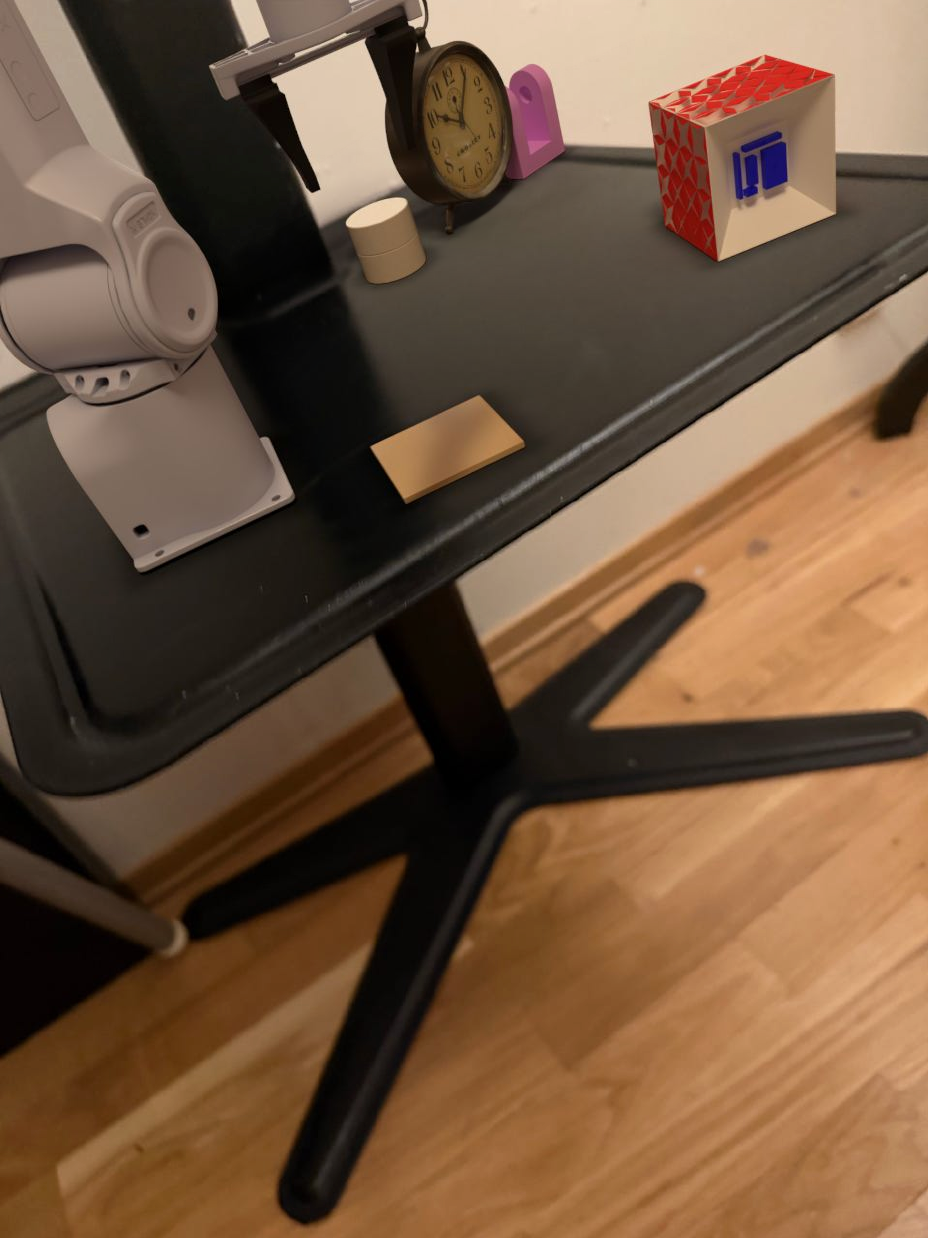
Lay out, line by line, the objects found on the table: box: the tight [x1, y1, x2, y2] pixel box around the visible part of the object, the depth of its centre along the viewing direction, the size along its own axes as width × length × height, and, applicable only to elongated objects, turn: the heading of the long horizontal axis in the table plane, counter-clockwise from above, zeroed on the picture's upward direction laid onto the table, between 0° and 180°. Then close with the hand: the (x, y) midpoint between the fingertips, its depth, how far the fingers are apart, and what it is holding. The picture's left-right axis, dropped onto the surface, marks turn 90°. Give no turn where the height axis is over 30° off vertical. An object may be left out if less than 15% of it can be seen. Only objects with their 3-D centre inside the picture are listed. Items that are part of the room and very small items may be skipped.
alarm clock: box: [384, 0, 513, 235], centre depth 69 cm, size 11×5×16 cm, turn 143°
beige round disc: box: [356, 229, 427, 285], centre depth 70 cm, size 5×5×2 cm
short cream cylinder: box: [345, 197, 418, 256], centre depth 68 cm, size 5×5×2 cm
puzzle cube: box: [647, 54, 837, 263], centre depth 56 cm, size 8×8×8 cm
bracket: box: [505, 63, 566, 180], centre depth 79 cm, size 13×6×7 cm, turn 45°
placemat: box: [369, 394, 526, 505], centre depth 49 cm, size 7×6×1 cm
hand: (361, 167), depth 65 cm, fingers open, 7 cm apart
